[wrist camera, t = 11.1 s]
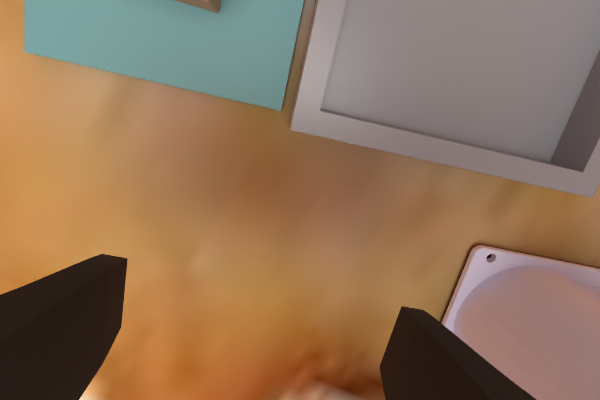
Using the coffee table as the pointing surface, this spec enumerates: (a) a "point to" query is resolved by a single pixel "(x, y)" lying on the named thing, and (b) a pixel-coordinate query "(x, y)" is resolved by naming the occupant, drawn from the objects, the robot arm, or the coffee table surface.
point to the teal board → (174, 42)
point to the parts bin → (460, 84)
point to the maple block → (204, 4)
